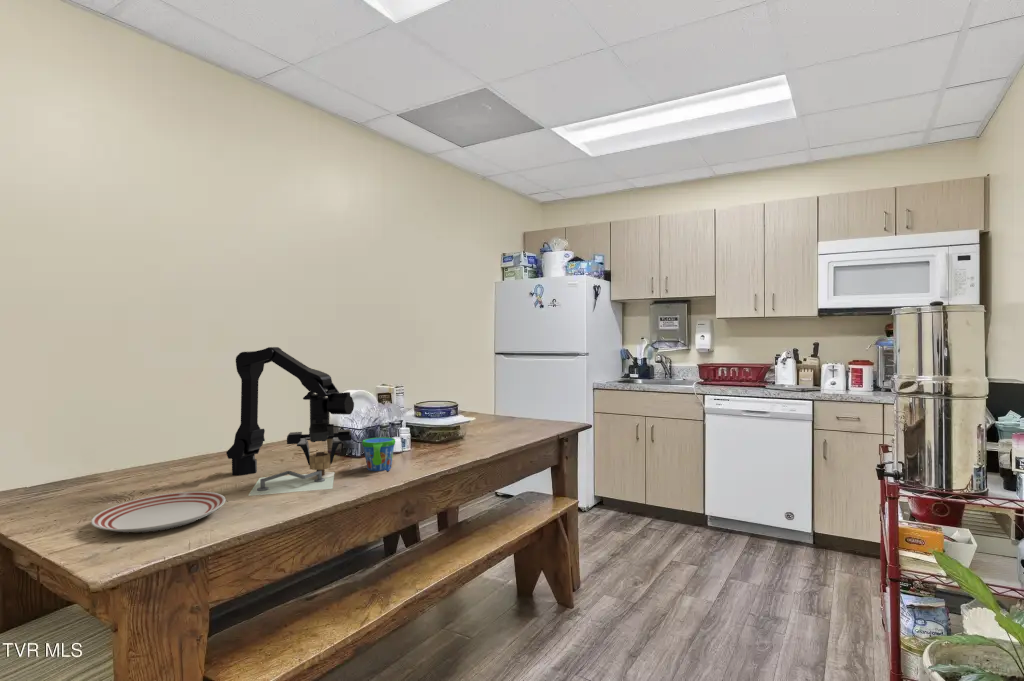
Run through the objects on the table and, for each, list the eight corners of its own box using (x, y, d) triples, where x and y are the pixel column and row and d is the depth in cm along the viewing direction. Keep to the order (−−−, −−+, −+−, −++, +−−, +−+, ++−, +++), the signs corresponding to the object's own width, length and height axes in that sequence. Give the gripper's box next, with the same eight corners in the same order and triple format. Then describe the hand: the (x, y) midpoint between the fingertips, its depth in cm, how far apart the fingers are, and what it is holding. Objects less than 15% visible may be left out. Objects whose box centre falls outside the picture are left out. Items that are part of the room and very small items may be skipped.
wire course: (247, 498, 151) (247, 484, 151) (259, 480, 172) (259, 468, 172) (332, 491, 158) (332, 478, 158) (334, 474, 178) (334, 462, 178)
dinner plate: (168, 543, 119) (168, 528, 119) (59, 538, 123) (59, 523, 123) (249, 505, 146) (249, 492, 146) (157, 502, 150) (157, 489, 150)
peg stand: (306, 480, 167) (305, 455, 167) (307, 474, 175) (307, 450, 175) (333, 478, 170) (333, 454, 170) (334, 472, 177) (334, 449, 177)
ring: (306, 468, 171) (305, 455, 171) (322, 464, 176) (322, 451, 176) (318, 470, 168) (318, 457, 168) (334, 466, 173) (334, 453, 173)
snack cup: (368, 465, 190) (368, 435, 190) (399, 464, 190) (399, 435, 190) (357, 476, 174) (356, 444, 174) (391, 476, 175) (390, 443, 174)
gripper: (284, 419, 162) (285, 472, 162) (351, 415, 167) (351, 467, 167) (288, 414, 173) (289, 464, 173) (350, 411, 178) (351, 460, 178)
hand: (320, 464), depth 172 cm, fingers closed on ring, 6 cm apart
